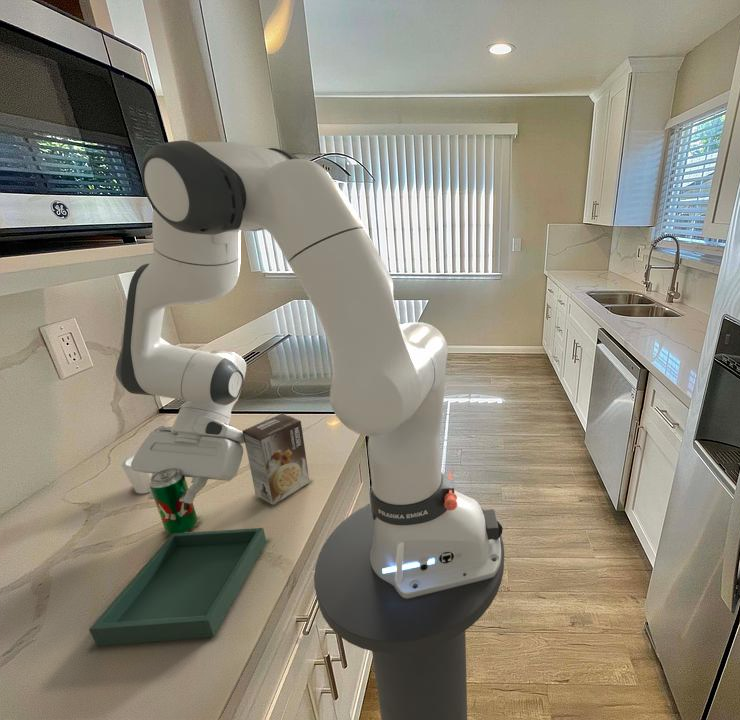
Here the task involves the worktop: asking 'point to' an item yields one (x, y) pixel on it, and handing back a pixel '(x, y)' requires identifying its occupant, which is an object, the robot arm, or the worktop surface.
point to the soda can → (172, 501)
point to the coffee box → (276, 457)
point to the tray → (182, 588)
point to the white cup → (137, 477)
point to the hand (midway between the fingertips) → (170, 501)
